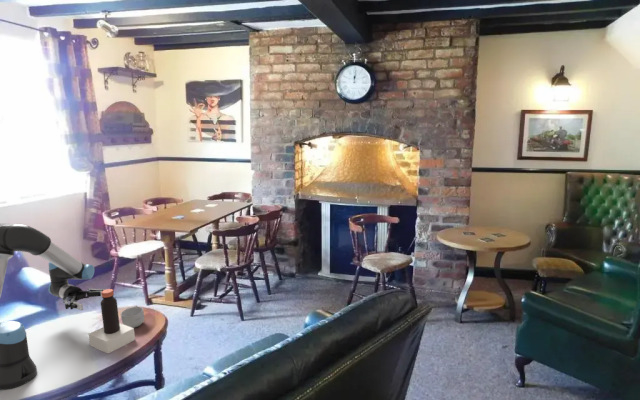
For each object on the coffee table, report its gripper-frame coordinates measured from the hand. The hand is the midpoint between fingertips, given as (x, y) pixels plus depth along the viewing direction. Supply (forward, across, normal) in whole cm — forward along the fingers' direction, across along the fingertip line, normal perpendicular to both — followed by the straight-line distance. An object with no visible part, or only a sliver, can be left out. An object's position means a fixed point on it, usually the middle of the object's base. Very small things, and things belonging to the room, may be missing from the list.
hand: (96, 302), depth 205 cm
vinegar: (+10, 0, -13) cm, 16 cm away
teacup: (+2, -17, -19) cm, 26 cm away
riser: (+10, 0, -18) cm, 21 cm away
